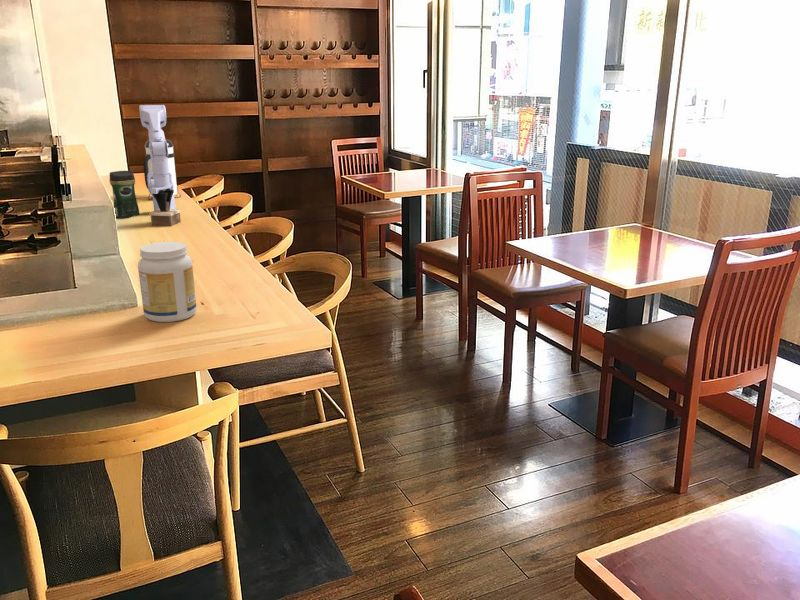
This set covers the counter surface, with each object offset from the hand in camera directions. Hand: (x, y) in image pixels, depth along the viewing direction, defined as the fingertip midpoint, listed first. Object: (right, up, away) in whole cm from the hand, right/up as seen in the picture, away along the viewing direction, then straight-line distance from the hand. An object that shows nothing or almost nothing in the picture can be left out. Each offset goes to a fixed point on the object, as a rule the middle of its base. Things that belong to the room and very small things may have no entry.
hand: (164, 209), depth 260 cm
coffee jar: (-22, -1, +18) cm, 28 cm away
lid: (0, -1, +1) cm, 2 cm away
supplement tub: (+35, -39, -97) cm, 111 cm away
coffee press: (-21, +13, +59) cm, 64 cm away
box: (0, -6, +2) cm, 6 cm away
